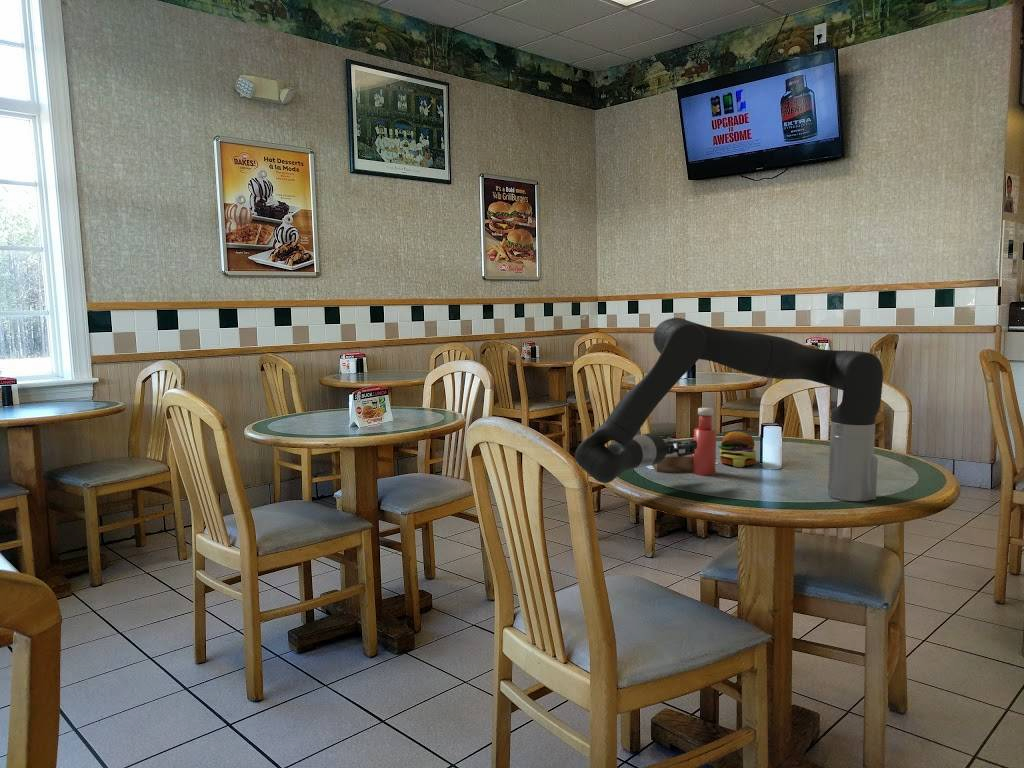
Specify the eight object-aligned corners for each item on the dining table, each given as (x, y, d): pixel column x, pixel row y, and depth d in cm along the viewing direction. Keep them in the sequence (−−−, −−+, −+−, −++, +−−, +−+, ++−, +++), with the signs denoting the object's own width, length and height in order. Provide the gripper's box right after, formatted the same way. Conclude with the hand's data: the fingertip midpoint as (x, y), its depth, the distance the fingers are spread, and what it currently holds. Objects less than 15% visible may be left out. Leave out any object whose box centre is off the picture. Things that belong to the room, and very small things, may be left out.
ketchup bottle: (712, 470, 200) (713, 407, 198) (717, 475, 195) (719, 410, 193) (691, 470, 200) (692, 407, 198) (696, 475, 195) (697, 410, 193)
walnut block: (686, 463, 209) (686, 449, 209) (694, 471, 199) (695, 456, 199) (650, 463, 209) (650, 449, 209) (656, 471, 199) (657, 456, 199)
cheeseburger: (719, 466, 204) (718, 430, 205) (717, 468, 214) (717, 433, 216) (758, 467, 202) (757, 430, 203) (755, 469, 212) (754, 433, 213)
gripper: (668, 438, 172) (706, 430, 183) (618, 431, 182) (657, 424, 193) (667, 471, 173) (705, 461, 184) (617, 462, 183) (656, 453, 194)
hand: (680, 442), depth 189 cm, fingers open, 8 cm apart
